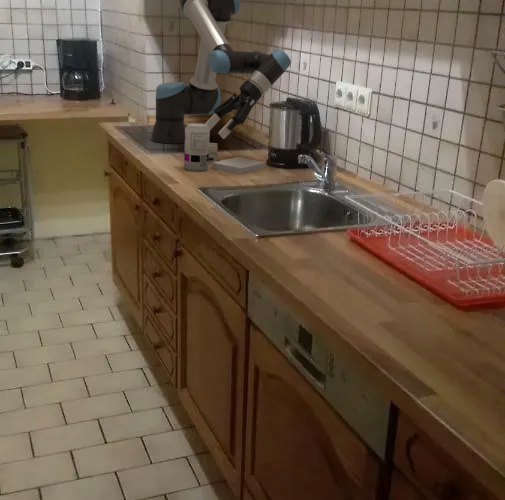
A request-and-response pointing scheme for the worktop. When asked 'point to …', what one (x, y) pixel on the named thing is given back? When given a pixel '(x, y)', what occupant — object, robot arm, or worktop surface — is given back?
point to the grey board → (238, 165)
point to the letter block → (212, 152)
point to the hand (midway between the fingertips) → (212, 133)
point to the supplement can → (196, 147)
